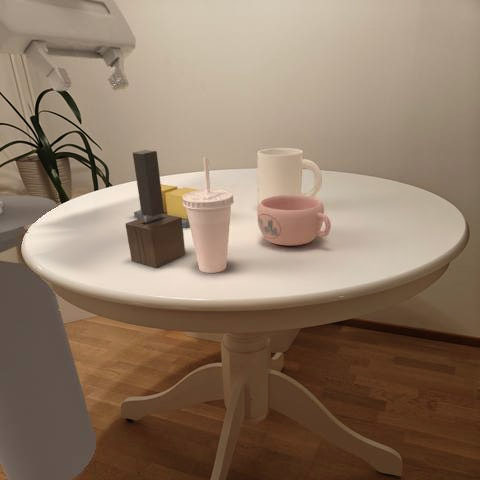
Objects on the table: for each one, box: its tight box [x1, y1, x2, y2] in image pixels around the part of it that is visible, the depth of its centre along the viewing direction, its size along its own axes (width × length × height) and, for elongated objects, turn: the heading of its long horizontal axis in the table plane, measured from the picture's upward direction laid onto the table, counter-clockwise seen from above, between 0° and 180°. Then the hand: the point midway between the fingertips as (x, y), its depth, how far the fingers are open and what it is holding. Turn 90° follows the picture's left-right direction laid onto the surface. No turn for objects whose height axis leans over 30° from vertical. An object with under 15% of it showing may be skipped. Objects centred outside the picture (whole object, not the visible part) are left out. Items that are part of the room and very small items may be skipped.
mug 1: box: [256, 147, 323, 206], centre depth 79 cm, size 12×8×10 cm
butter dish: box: [133, 209, 190, 229], centre depth 78 cm, size 13×8×1 cm, turn 55°
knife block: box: [124, 214, 186, 269], centre depth 59 cm, size 5×6×6 cm
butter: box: [161, 183, 200, 219], centre depth 77 cm, size 11×5×4 cm, turn 55°
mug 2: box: [256, 195, 332, 247], centre depth 63 cm, size 12×10×6 cm
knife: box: [132, 149, 164, 225], centre depth 57 cm, size 2×3×14 cm
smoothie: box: [183, 156, 235, 274], centre depth 54 cm, size 6×6×14 cm
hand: (94, 88), depth 52 cm, fingers open, 8 cm apart
